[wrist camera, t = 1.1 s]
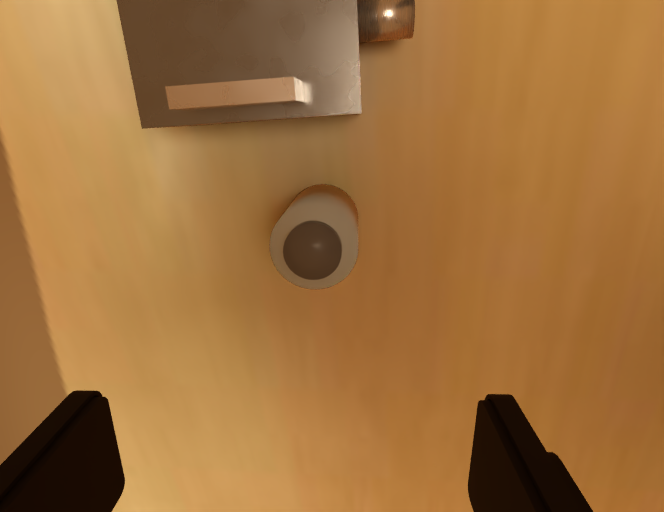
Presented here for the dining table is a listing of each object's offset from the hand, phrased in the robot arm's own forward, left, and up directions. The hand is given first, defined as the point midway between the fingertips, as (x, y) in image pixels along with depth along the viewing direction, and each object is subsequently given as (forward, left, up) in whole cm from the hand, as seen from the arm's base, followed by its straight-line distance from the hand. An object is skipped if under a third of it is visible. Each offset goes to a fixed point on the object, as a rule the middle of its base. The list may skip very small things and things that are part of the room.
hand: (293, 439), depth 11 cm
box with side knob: (+2, -14, -21) cm, 25 cm away
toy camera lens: (+1, -1, -21) cm, 21 cm away
